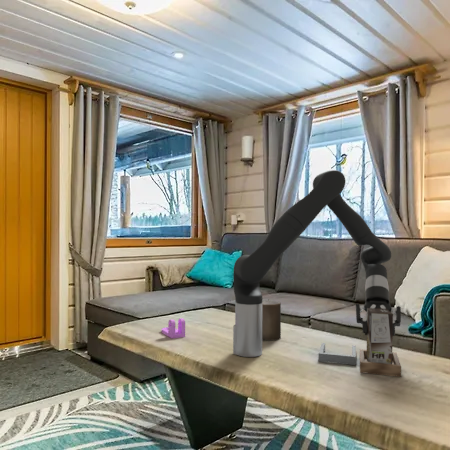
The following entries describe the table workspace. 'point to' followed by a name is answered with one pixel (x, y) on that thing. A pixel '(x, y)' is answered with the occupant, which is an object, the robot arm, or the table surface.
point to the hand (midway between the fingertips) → (378, 334)
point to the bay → (337, 356)
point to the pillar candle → (271, 320)
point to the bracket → (172, 331)
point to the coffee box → (379, 335)
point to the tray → (380, 365)
